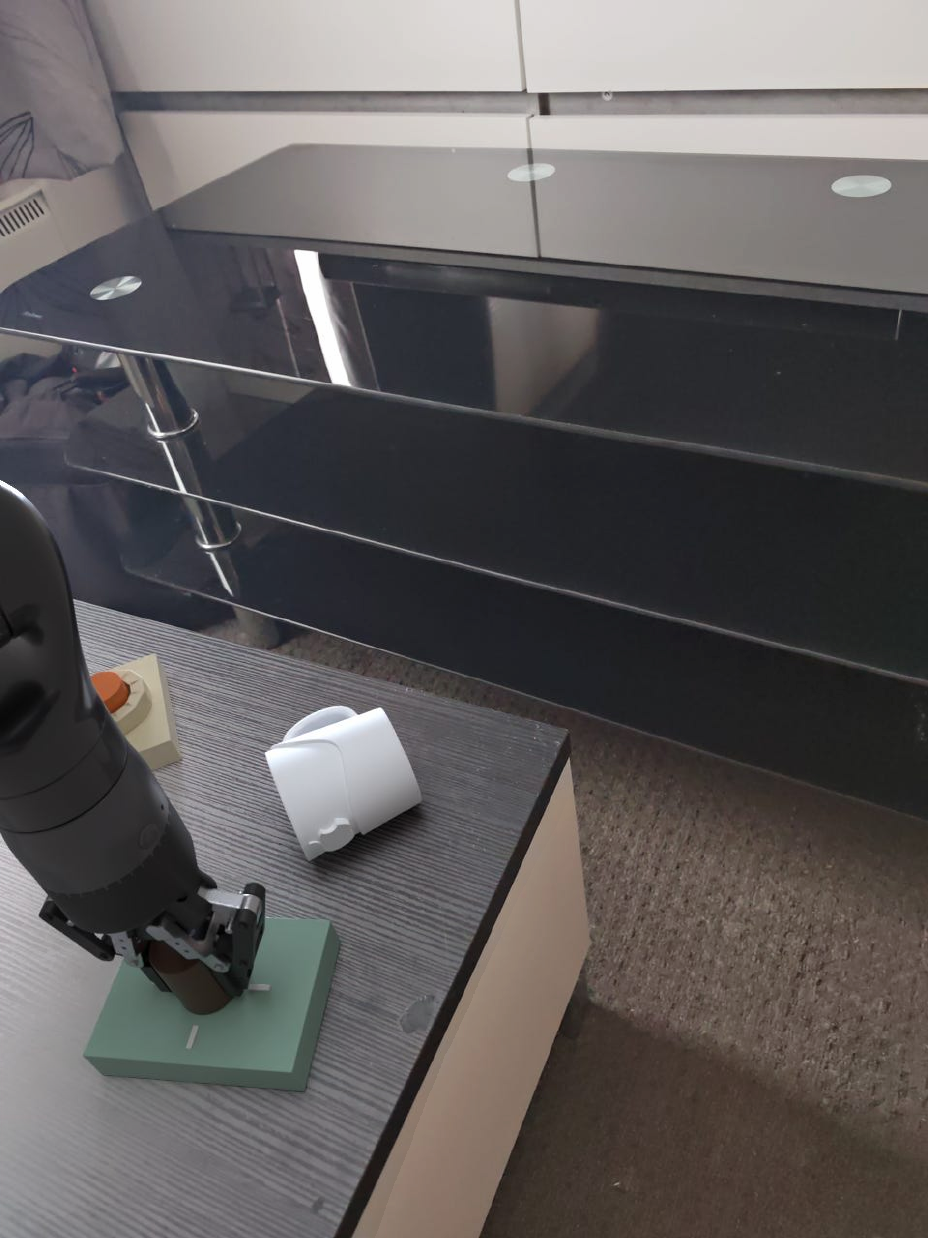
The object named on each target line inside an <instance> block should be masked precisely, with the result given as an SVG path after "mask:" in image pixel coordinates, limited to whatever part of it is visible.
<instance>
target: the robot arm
mask: <svg viewBox="0 0 928 1238" xmlns="http://www.w3.org/2000/svg"><path fill="white" fill-rule="evenodd" d="M90 676H91V674H90V671H89V667H88V664H87V660H86V656H85V652H84V649H83V643H82V640H81V635H80V631H79V626H78V620H77V613H76V608H75V603H74V596H73V591H72V585H71V581H70V577H69V573H68V569H67V564H66V562H65V559H64V555H63V553H62V550H61V548H60V545H59V542H58V540H57V539H56V537H55V534H54V533H53V531H52V529H51V527H50V524H48V522H47V520H46V519H45V517H44V516H43V514H42V513H41V511H40V510H39V509H37V507H36V506H35V505H34V503H32V502H31V500H29V499H28V498H27V497H26V496H25V495H24V494H23V493H22V492H20V491H19V490H17V489H16V488H14V487H13V486H11V485H9V484H7V483H6V482H5V481H3V480H0V836H1V838H2V839H3V841H4V843H5V845H6V847H7V848H8V850H9V852H11V853H12V855H13V856H14V857H15V859H16V860H17V861H18V862H19V863H20V864H21V865H22V867H23V868H24V869H25V870H26V871H27V872H28V874H29V875H30V876H31V877H32V878H33V879H34V881H35V882H36V883H37V884H38V885H39V887H40V888H41V890H43V891H44V893H45V894H46V895H47V896H46V898H45V899H44V902H43V905H42V907H41V909H40V911H39V913H38V917H39V918H40V920H42V921H43V922H45V923H46V924H47V925H49V926H51V927H52V928H54V929H55V930H56V931H58V932H59V933H60V934H62V935H64V936H65V937H66V938H67V939H69V940H71V941H72V942H74V943H75V944H76V945H78V946H79V947H80V948H82V949H83V950H85V951H86V952H87V953H89V954H90V955H92V956H93V957H95V958H96V959H97V960H100V961H102V962H113V961H114V959H115V957H116V956H120V957H122V958H124V961H125V963H126V964H127V965H129V966H131V967H136V968H140V969H141V970H142V971H143V972H144V974H145V975H146V976H147V978H148V979H149V980H150V981H152V982H153V983H155V985H156V986H157V987H158V988H159V990H160V991H161V992H172V990H171V989H170V988H169V987H168V985H167V984H166V983H165V982H164V980H163V979H162V978H161V977H160V975H159V974H158V973H157V971H156V970H155V969H154V968H153V966H152V965H151V963H150V959H149V948H150V944H151V941H152V940H154V939H156V940H164V941H165V942H166V943H168V944H169V945H170V946H171V947H172V948H174V949H175V950H176V951H177V952H179V953H180V954H181V955H182V956H183V957H185V958H186V959H188V960H191V959H200V960H201V961H202V962H203V963H205V964H206V965H207V966H208V967H209V968H211V969H212V970H211V971H212V973H213V974H214V976H215V977H216V979H217V980H218V981H219V983H220V984H221V986H222V987H223V988H224V990H225V991H226V993H227V994H228V995H229V996H237V997H240V996H241V995H242V994H243V991H244V989H247V988H248V985H249V982H250V978H251V975H252V972H253V969H254V962H255V959H256V955H257V952H258V949H259V946H260V942H261V939H262V936H263V933H264V929H265V917H266V888H265V886H264V885H262V884H260V883H258V882H253V881H252V882H251V881H249V882H247V883H245V884H244V886H243V887H244V888H243V890H242V891H239V892H234V891H230V890H224V889H220V888H218V887H219V886H218V884H217V882H216V880H214V878H213V877H211V876H210V875H208V874H207V873H205V872H204V871H203V870H202V869H201V868H200V867H199V864H198V859H197V854H196V849H195V844H194V841H193V837H192V835H191V833H190V831H189V830H188V829H189V828H187V826H186V825H185V823H184V821H183V819H182V817H181V816H180V815H179V813H178V812H177V810H176V808H175V806H174V805H173V803H172V802H171V800H170V798H169V797H168V795H167V793H166V791H165V790H164V789H163V787H162V785H161V784H160V782H159V781H158V779H157V777H156V775H155V774H154V772H153V771H151V769H150V767H149V766H148V764H147V763H146V761H145V760H144V758H143V757H142V756H141V755H140V753H139V752H138V751H137V750H136V749H135V748H134V747H133V746H132V745H131V744H130V743H129V741H128V740H127V739H126V737H125V736H124V735H123V733H122V731H121V730H120V728H119V726H118V725H117V723H116V722H115V720H114V718H113V717H112V715H111V713H110V712H109V710H108V709H107V707H106V705H105V704H104V702H103V700H102V699H101V697H100V696H99V694H98V692H97V691H96V689H95V687H94V685H93V683H92V680H91V677H90ZM96 934H98V935H102V936H101V938H100V937H99V936H97V935H96ZM216 934H217V935H218V936H219V938H218V941H217V944H216V947H214V944H213V942H214V939H215V936H216Z"/></svg>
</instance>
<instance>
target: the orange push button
mask: <svg viewBox="0 0 928 1238" xmlns="http://www.w3.org/2000/svg"><path fill="white" fill-rule="evenodd" d="M90 677H91V680H92V683H93V685H94V687H95V689H96V691H97V692H98V694H99V696H100V697H101V699H102V700H103V702H104V704H105V705H106V707H107V709H108V710H109V712H110V713H111V714H113V713H115V712H116V711H117V710H118V709H120V708H121V707H122V706H123V705H125V703H126V702H127V700H128V696H129V692H128V689H127V688H126V686H125V684H124V683H123V681H122V679H121V677H120V676H119V675H118V674H117V673H115V672H110V671H107V670H105V672H104V671H100V672H97V673H94V674H92V675H90Z"/></svg>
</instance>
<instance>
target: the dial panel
mask: <svg viewBox="0 0 928 1238" xmlns="http://www.w3.org/2000/svg"><path fill="white" fill-rule="evenodd" d="M341 943H342V941H341V939H340V937H339V935H338V933H337V931H336V928H335V926H334V924H333V923H332V921H331V919H320V918H319V919H318V918H316V919H315V918H293V917H289V918H288V917H271V916H265V929H264V933H263V936H262V939H261V942H260V946H259V949H258V952H257V955H256V959H255V962H254V969H253V972H252V975H251V978H250V982H249V985H248V988H247V989H244V991H243V994H242V995H241V996H240V997H237V996H234V997H233V998H232V1000H231V1001H230V1002H229V1003H228V1004H227V1005H226V1006H224V1007H223V1008H222V1009H220V1010H218V1011H216V1012H214V1013H211V1014H206V1015H198V1014H194V1013H191V1012H190V1011H188V1010H187V1009H186V1008H185V1007H184V1006H183V1004H182V1003H181V1002H180V1001H179V999H178V998H177V997H176V996H175V994H174V993H173V992H161V991H160V990H159V988H158V987H157V986H156V985H155V983H153V982H152V981H150V980H149V979H148V978H147V976H146V975H145V974H144V972H143V971H142V970H141V969H140V968H136V967H131V966H129V965H127V964H126V963H125V961H124V958H123V957H122V958H123V959H122V961H121V964H120V966H119V969H118V971H117V973H116V975H115V978H114V980H113V983H112V985H111V987H110V990H109V992H108V994H107V996H106V999H105V1001H104V1004H103V1006H102V1009H101V1011H100V1014H99V1016H98V1018H97V1021H96V1023H95V1025H94V1027H93V1030H92V1033H91V1035H90V1037H89V1040H88V1042H87V1045H86V1047H85V1049H84V1052H83V1054H82V1057H83V1058H84V1059H85V1060H86V1061H87V1062H88V1063H89V1064H90V1065H91V1066H93V1068H95V1070H97V1072H98V1073H100V1074H101V1075H102V1076H114V1077H115V1076H116V1077H125V1078H139V1079H147V1080H149V1079H151V1080H161V1081H162V1080H163V1081H173V1082H186V1083H196V1084H198V1083H199V1084H207V1085H208V1084H211V1085H223V1086H233V1087H235V1086H236V1087H243V1088H245V1087H246V1088H258V1089H269V1090H270V1089H271V1090H281V1091H292V1092H305V1091H306V1088H307V1083H308V1080H309V1076H310V1071H311V1067H312V1064H313V1063H312V1062H313V1058H314V1056H315V1050H316V1047H317V1042H318V1039H319V1034H320V1030H321V1026H322V1021H323V1018H324V1013H325V1009H326V1006H327V1001H328V996H329V992H330V989H331V985H332V981H333V976H334V972H335V967H336V964H337V959H338V955H339V951H340V947H341Z"/></svg>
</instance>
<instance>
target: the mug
mask: <svg viewBox="0 0 928 1238" xmlns="http://www.w3.org/2000/svg"><path fill="white" fill-rule="evenodd" d="M264 757H265V760H266V763H267V766H268V769H269V771H270V774H271V778H272V779H273V780H272V781H273V783H274V784H275V788H276V790H277V792H278V795H279V797H280V800H281V802H282V805H283V807H284V811H285V812H286V814H287V817H288V819H289V822H290V825H291V827H292V829H293V831H294V834H295V836H296V838H297V841H298V843H299V845H300V847H301V850H302V852H303V853H304V856H305V857H306V860H307V861H308V862H309V861H312V860H314V859H315V858H317V857H319V856H320V855H322V854H324V853H326V852H336V851H337V850H340V849H342V848H343V847H345V846H347V844H349V842H351V841H352V840H353V838H354V837H355V835H357V834H359V833H360V834H362V835H366V834H367V833H369V832H371V831H373V830H374V829H377V828H378V827H380V826H381V825H384V824H385V823H387V822H388V821H390V820H392V819H393V818H395V817H397V816H399V815H401V814H402V813H404V812H407V811H409V809H411V808H413V807H416V806H417V805H418V804H420V803H421V802H422V793H421V790H420V787H419V784H418V781H417V778H416V775H415V772H414V771H413V768H412V765H411V763H410V761H409V758H408V756H407V753H406V751H405V749H404V747H403V745H402V742H401V741H400V738H399V736H398V734H397V733H396V730H395V728H394V725H393V724H392V722H391V720H390V719H389V717H388V715H387V713H386V712H385V710H384V709H383V708H382V707H376V708H374V709H371V710H369V711H366V712H363V713H360V714H358V713H357V712H356V711H355V710H353V709H352V708H350V707H348V706H343V705H333V706H329V707H324V708H322V709H320V710H319V709H318V710H317V711H315V712H312V713H310V714H309V715H307V716H305V717H303V718H301V719H300V720H299V721H298V722H296V723H295V724H294V725H293V726H292V727H291V728H290V729H289V730H287V732H286V733H285V735H284V737H283V738H282V741H281V742H278V743H275V744H272V745H271V746H270V747H269V750H267V751H265V752H264Z"/></svg>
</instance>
